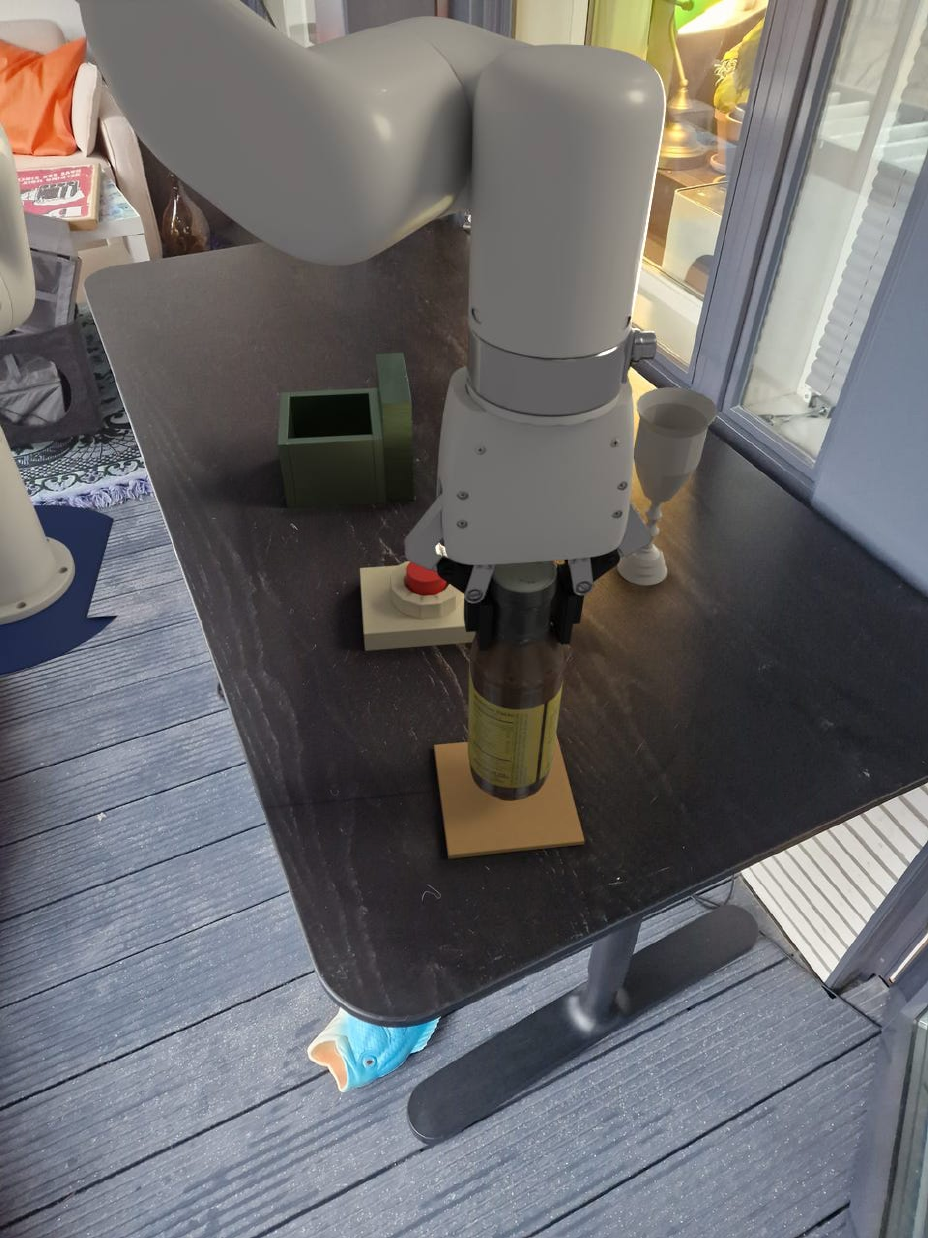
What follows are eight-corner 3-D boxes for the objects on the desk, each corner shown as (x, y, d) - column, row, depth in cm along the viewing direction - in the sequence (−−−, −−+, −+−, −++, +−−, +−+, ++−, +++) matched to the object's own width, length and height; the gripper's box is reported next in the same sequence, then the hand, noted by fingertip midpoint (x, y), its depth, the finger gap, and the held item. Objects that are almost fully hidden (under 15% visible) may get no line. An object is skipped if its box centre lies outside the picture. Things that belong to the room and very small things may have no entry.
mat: (448, 859, 61) (448, 855, 61) (434, 748, 68) (434, 744, 68) (583, 844, 62) (584, 841, 62) (555, 737, 69) (556, 733, 69)
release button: (408, 597, 76) (408, 583, 75) (405, 571, 78) (404, 557, 77) (448, 595, 76) (448, 580, 75) (444, 569, 79) (444, 554, 78)
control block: (365, 651, 76) (362, 618, 73) (360, 584, 82) (358, 552, 80) (497, 640, 77) (499, 608, 75) (483, 576, 84) (484, 544, 81)
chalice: (659, 601, 82) (699, 439, 69) (595, 576, 84) (622, 414, 72) (687, 560, 86) (729, 400, 74) (625, 537, 89) (656, 379, 76)
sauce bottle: (517, 724, 66) (541, 520, 53) (566, 781, 63) (606, 576, 49) (447, 760, 64) (454, 554, 50) (495, 821, 60) (515, 616, 46)
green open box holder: (287, 508, 91) (272, 408, 83) (289, 454, 99) (275, 357, 90) (413, 501, 93) (411, 402, 84) (406, 448, 100) (403, 352, 92)
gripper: (690, 318, 44) (634, 583, 57) (365, 331, 42) (382, 601, 55) (742, 390, 39) (668, 665, 51) (372, 407, 37) (389, 688, 50)
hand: (520, 629), depth 53 cm, fingers closed on sauce bottle, 4 cm apart
